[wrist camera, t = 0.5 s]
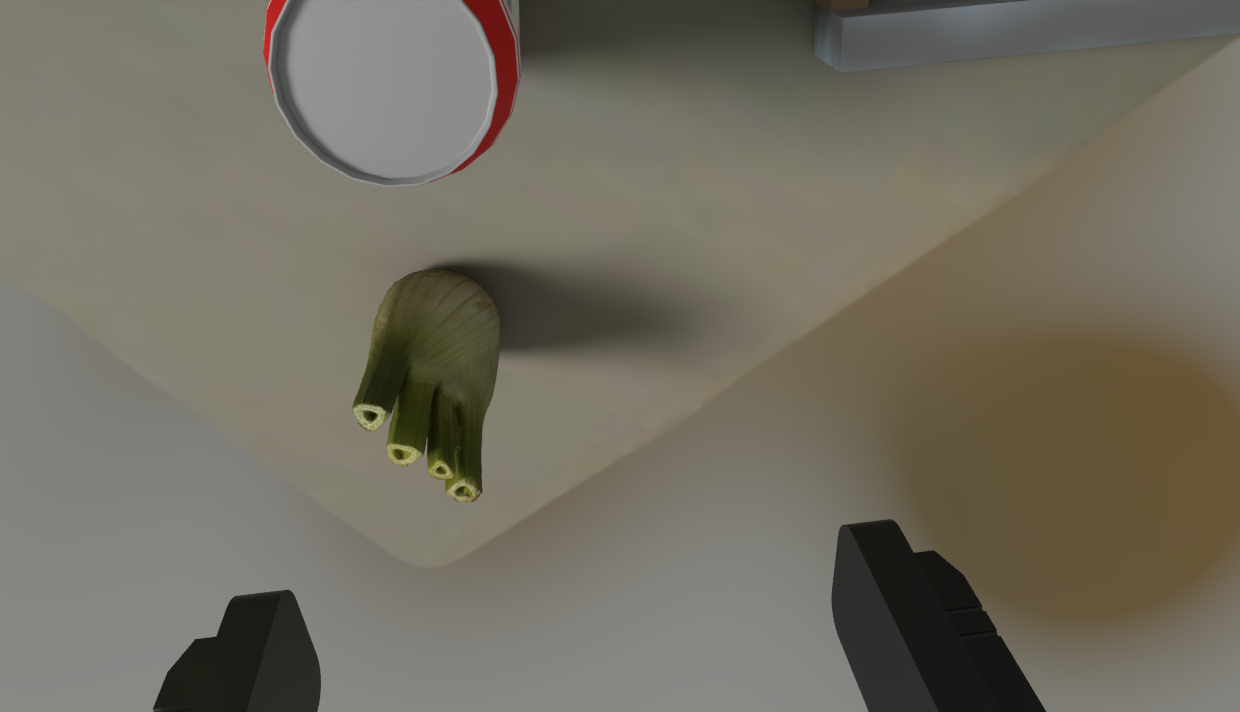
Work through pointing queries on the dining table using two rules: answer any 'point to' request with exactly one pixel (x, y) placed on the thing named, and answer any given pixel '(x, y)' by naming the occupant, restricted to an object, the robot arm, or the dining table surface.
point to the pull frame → (1001, 28)
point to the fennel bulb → (433, 375)
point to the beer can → (394, 82)
